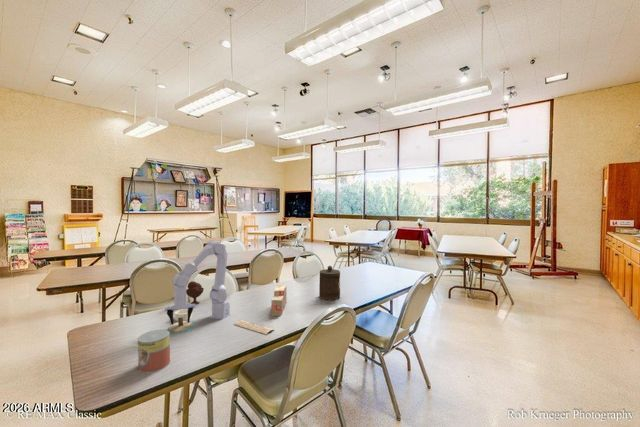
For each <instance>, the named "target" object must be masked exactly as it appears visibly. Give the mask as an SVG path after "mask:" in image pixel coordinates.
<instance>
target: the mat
mask: <svg viewBox="0 0 640 427" xmlns="http://www.w3.org/2000/svg"><path fill="white" fill-rule="evenodd" d="M191 322H192V327H191V328H190V329H188V330H185V331H180V332H179V333H182V332H183V333H186V332H192V330H193V328H194V325H195V321H191ZM166 330H167V331H169V332H170V334H175V333H178V332H172V331H170V330H169V327H168V329H166Z"/></svg>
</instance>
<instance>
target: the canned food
mask: <svg viewBox="0 0 640 427" xmlns="http://www.w3.org/2000/svg"><path fill="white" fill-rule="evenodd" d="M167 330H168V329H156V330H150V331H147V332H144V333H143V334H141V335H139V337H138V338H137V352H138V354H137V357H138V358H137V360H138V363H137V364H138V368H137V371H138V372H140V373H144V374H148V373H149V374H150V373H155V372H157V371H161V370H163V369H165V368H166V367H168V366H169V365H170V363H171V350H170V349H171V347H170V346H171V344H170V343H171V341H170V339H171V337H170V336H171V335H170V334H171V333H170V332H169V331H167Z"/></svg>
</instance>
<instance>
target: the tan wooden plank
mask: <svg viewBox="0 0 640 427" xmlns="http://www.w3.org/2000/svg"><path fill="white" fill-rule="evenodd" d="M233 326H236V327H239V328H243V329H246V330H249V331H252V332H256V333H258V334H262V335H264V336H267V335H268V333H269V332H274V331H275V329H273V328H270V327H265V326H263V325H259V324H255V323H252V322H249V321H245V320H242V319H241V320H237V321H236V322H234V323H233Z"/></svg>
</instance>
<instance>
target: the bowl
mask: <svg viewBox="0 0 640 427" xmlns="http://www.w3.org/2000/svg"><path fill="white" fill-rule="evenodd" d="M193 313H194V310H193V311H192V313H191V316H190V320H191V319H193V315H194V314H193ZM180 317H183V321H188V309H180V310H175V311H174V321H175V322H178V318H180Z"/></svg>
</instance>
